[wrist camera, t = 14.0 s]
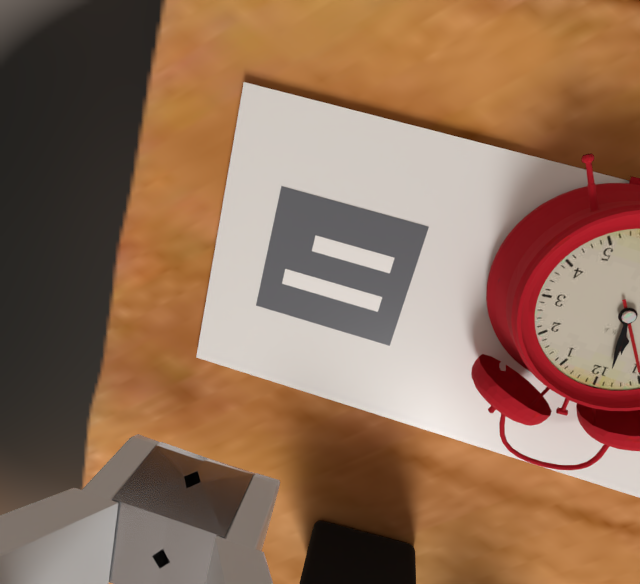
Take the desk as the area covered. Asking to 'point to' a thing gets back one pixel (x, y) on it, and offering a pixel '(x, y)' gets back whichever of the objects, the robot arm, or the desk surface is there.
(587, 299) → the alarm clock
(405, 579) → the battery
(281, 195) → the panel
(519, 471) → the desk surface
